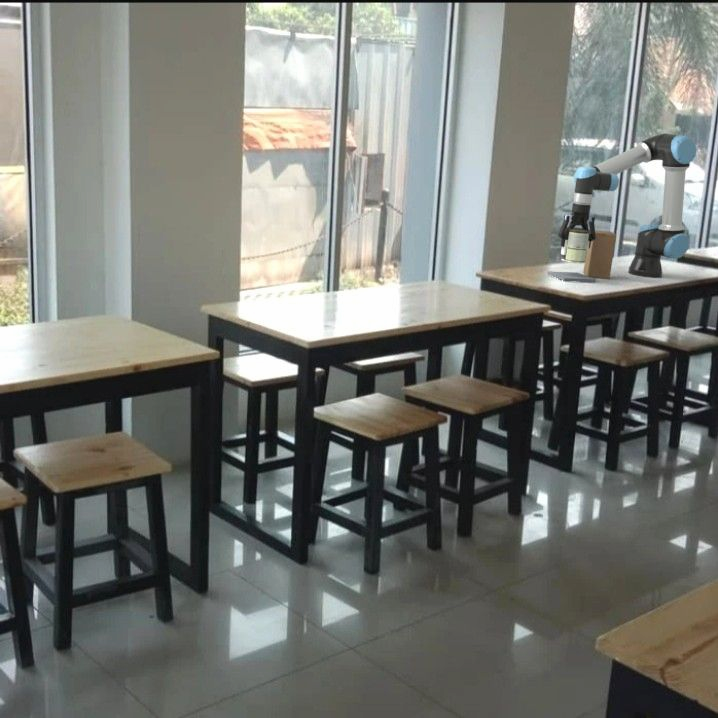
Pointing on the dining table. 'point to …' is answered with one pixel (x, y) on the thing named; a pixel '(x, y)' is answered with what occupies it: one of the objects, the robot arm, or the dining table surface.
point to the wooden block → (600, 255)
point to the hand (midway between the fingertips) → (574, 255)
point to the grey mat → (571, 276)
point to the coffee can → (576, 245)
